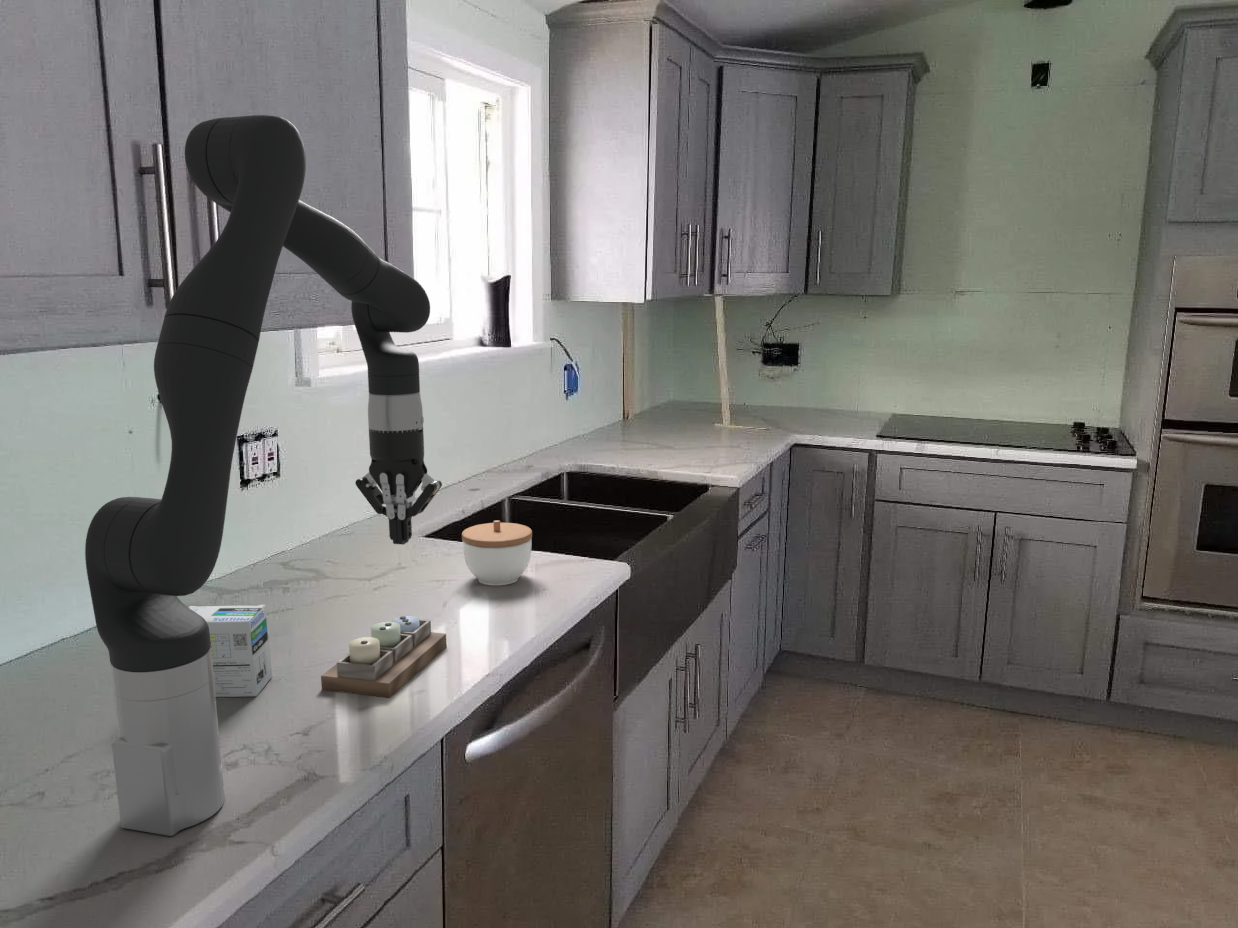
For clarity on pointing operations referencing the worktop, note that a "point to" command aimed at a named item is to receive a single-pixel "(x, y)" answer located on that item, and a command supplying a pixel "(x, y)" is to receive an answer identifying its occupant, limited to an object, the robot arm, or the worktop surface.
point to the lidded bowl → (497, 551)
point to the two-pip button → (387, 633)
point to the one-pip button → (364, 650)
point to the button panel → (387, 665)
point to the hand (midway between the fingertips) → (401, 542)
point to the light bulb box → (238, 648)
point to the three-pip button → (407, 623)
